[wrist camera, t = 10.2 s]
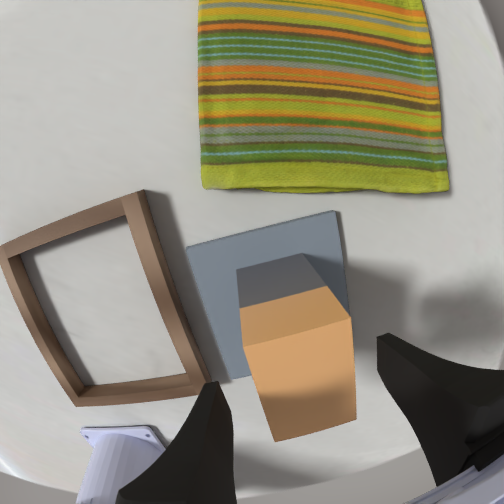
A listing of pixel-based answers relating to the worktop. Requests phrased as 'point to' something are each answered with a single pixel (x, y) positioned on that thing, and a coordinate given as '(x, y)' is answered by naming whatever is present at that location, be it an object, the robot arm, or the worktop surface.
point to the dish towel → (319, 97)
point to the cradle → (161, 289)
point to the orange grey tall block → (297, 347)
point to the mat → (255, 252)
